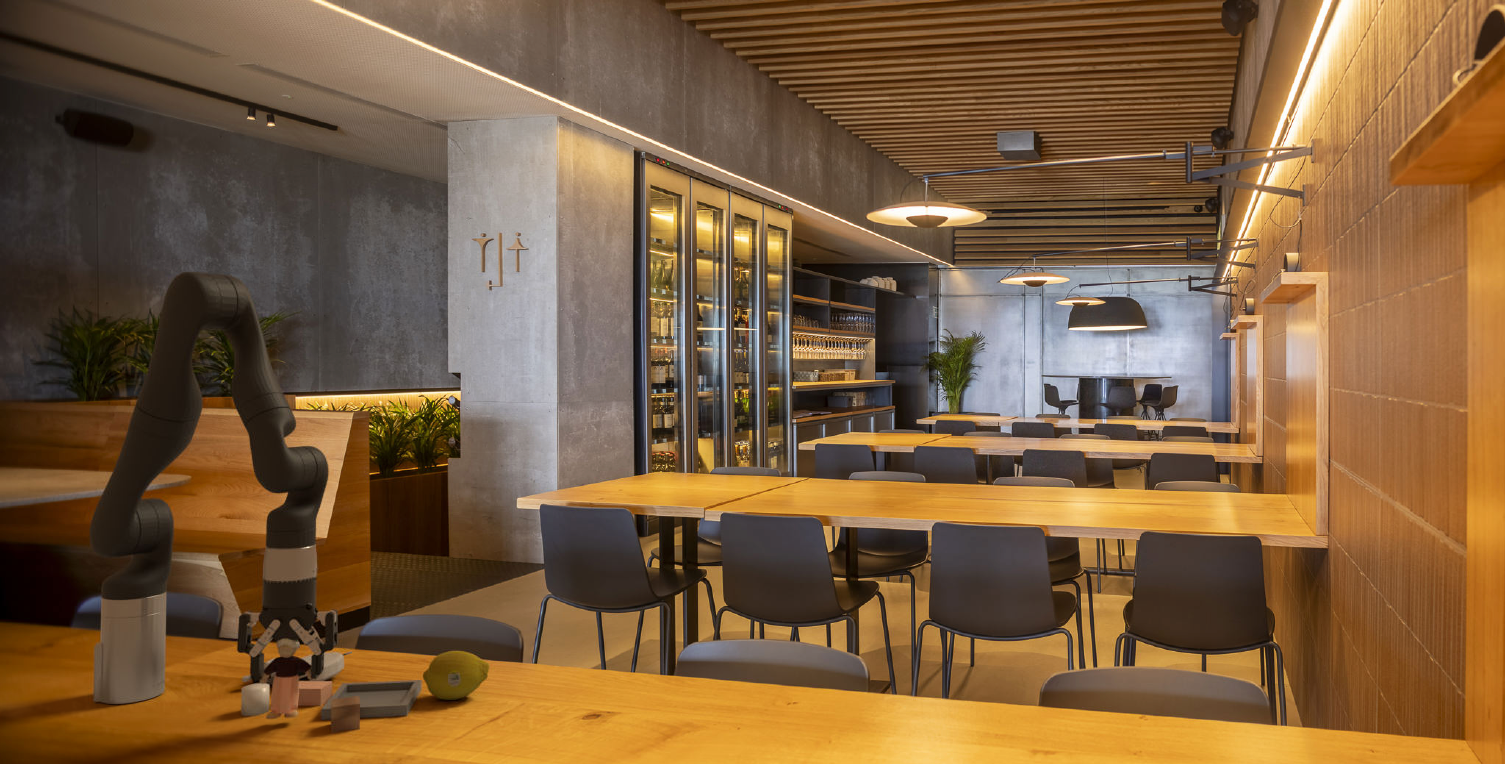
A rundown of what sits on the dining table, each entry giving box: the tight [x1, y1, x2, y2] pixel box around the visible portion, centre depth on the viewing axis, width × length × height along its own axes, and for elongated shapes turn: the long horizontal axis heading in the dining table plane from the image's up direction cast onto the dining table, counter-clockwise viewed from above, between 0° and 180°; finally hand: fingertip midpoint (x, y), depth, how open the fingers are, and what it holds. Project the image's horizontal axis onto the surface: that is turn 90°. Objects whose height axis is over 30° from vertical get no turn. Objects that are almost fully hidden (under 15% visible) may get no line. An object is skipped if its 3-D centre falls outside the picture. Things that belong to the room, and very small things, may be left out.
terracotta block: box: [298, 680, 333, 707], centre depth 154 cm, size 6×4×3 cm, turn 89°
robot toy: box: [241, 651, 353, 685], centre depth 164 cm, size 12×4×15 cm
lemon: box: [422, 650, 490, 701], centre depth 156 cm, size 11×8×8 cm
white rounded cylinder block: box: [240, 683, 271, 717], centre depth 148 cm, size 4×4×4 cm
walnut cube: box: [330, 696, 361, 734], centre depth 142 cm, size 4×4×4 cm
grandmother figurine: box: [260, 639, 311, 720], centre depth 143 cm, size 8×4×13 cm, turn 118°
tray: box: [320, 679, 423, 721], centre depth 153 cm, size 13×13×2 cm
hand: (287, 678), depth 143 cm, fingers closed on grandmother figurine, 8 cm apart
